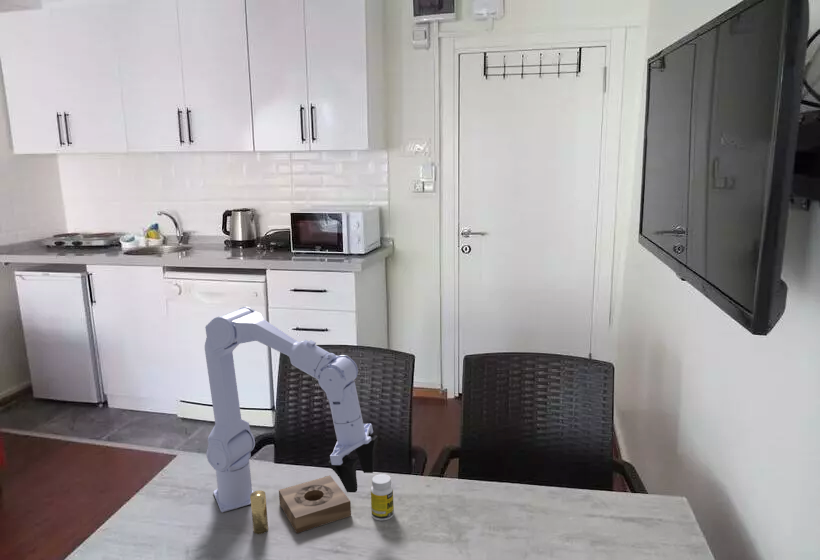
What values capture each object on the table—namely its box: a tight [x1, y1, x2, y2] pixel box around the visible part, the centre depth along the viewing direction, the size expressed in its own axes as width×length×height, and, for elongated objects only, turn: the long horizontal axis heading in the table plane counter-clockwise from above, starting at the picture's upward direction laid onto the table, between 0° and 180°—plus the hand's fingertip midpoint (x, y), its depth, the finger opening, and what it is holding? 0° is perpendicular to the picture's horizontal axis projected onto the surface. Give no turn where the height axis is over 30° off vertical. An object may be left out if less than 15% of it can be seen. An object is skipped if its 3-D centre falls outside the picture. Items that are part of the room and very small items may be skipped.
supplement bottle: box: [370, 473, 394, 522], centre depth 127 cm, size 5×5×8 cm
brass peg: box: [250, 490, 269, 535], centre depth 123 cm, size 3×3×8 cm
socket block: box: [278, 475, 352, 534], centre depth 130 cm, size 12×12×4 cm
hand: (360, 481), depth 121 cm, fingers open, 7 cm apart
